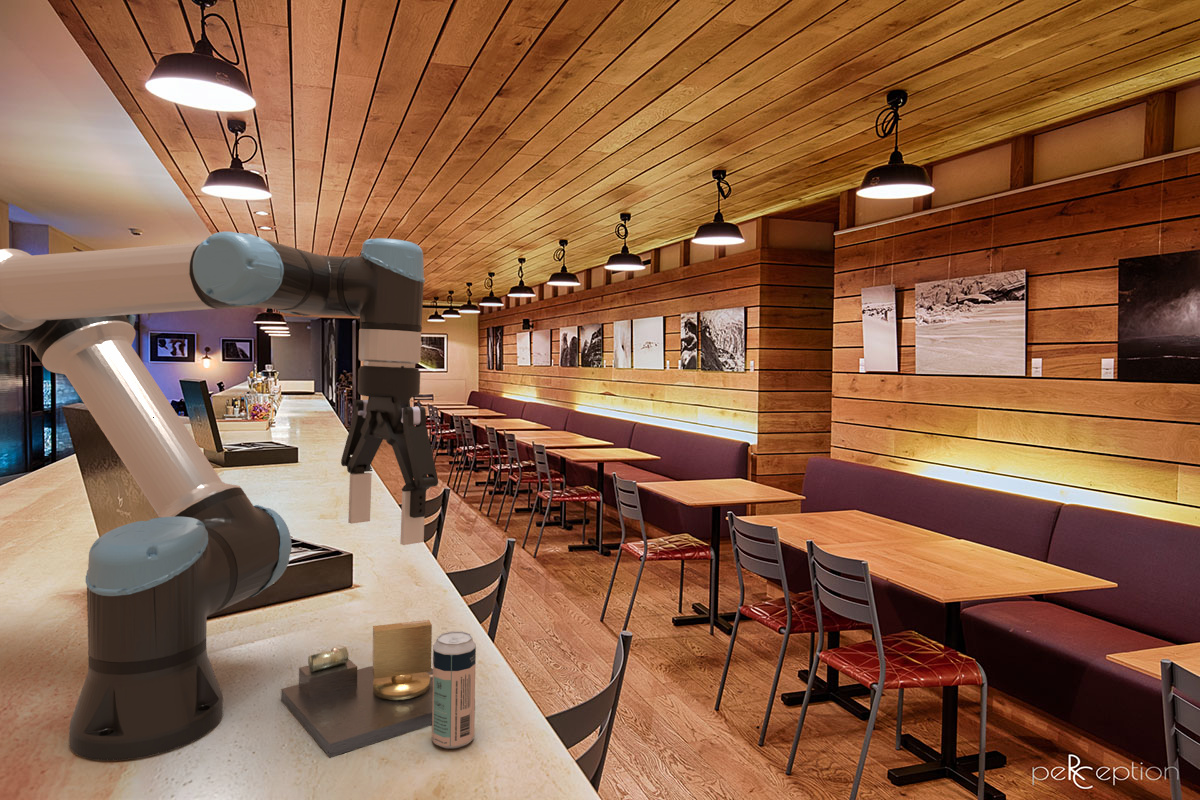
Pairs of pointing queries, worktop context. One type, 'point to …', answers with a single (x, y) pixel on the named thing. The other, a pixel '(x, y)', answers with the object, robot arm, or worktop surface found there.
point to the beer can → (453, 690)
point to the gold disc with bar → (402, 659)
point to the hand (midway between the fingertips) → (384, 532)
